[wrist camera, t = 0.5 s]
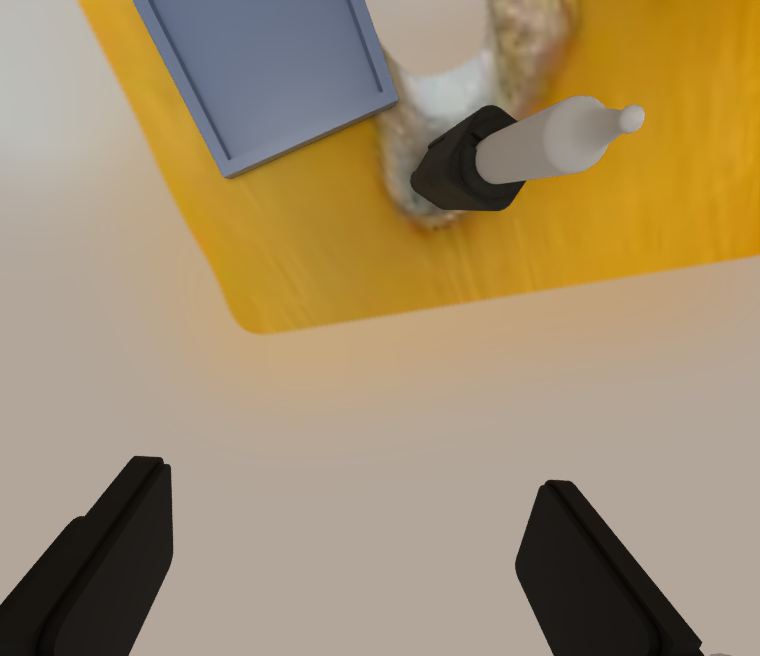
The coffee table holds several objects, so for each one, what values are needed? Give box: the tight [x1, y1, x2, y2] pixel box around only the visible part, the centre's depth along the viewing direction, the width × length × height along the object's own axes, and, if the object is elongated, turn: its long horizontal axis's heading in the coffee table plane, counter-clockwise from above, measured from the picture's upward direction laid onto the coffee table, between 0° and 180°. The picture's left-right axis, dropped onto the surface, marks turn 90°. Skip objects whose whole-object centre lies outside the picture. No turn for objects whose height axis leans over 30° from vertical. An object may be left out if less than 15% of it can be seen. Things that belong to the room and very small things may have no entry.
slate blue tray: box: [133, 0, 399, 179], centre depth 31 cm, size 16×16×2 cm
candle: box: [410, 95, 645, 211], centre depth 24 cm, size 5×5×25 cm
